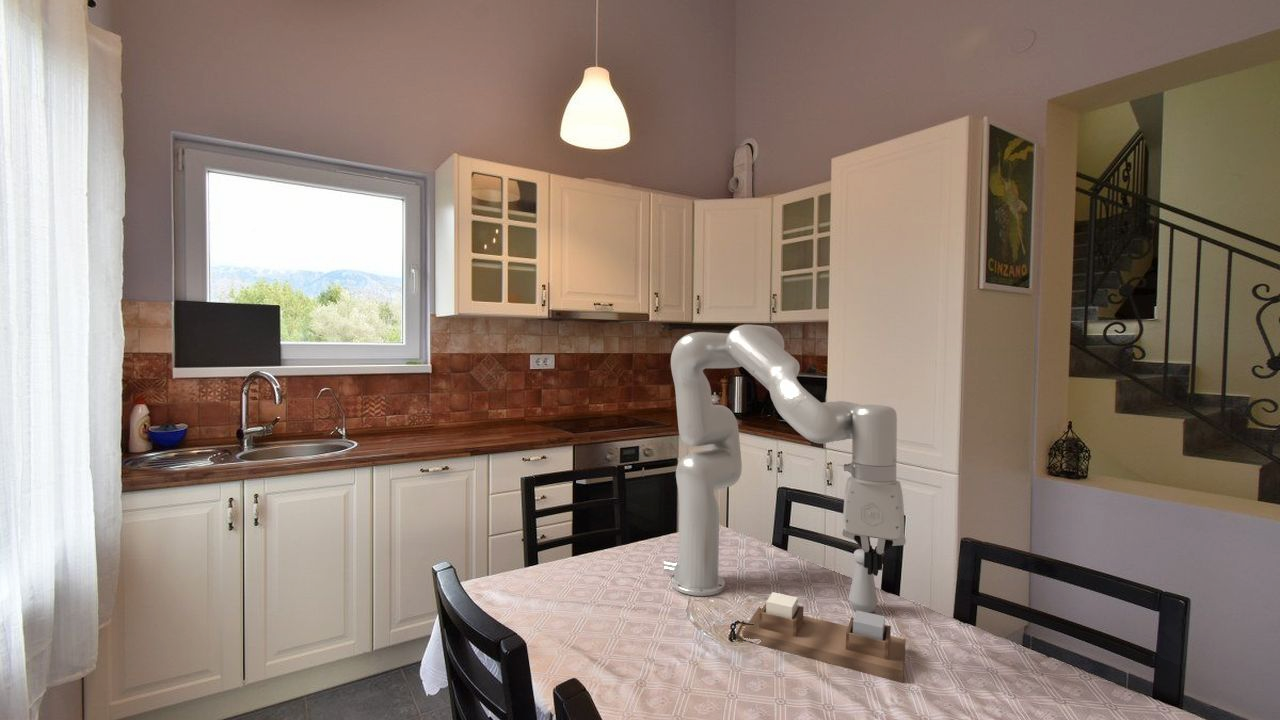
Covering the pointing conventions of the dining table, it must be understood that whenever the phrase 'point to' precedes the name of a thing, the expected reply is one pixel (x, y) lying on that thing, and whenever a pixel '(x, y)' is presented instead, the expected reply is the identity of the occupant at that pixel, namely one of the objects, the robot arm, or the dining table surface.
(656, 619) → the dining table surface
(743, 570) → the dining table surface
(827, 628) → the key panel
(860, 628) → the grey key
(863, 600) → the salt shaker
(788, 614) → the cream key
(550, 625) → the dining table surface
